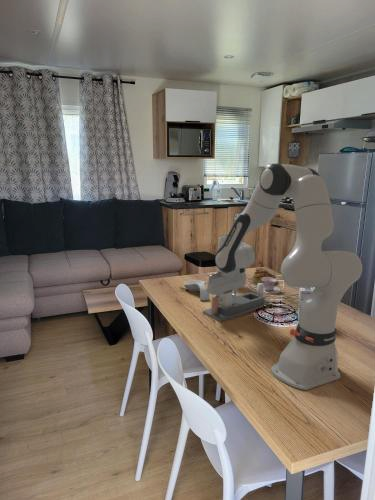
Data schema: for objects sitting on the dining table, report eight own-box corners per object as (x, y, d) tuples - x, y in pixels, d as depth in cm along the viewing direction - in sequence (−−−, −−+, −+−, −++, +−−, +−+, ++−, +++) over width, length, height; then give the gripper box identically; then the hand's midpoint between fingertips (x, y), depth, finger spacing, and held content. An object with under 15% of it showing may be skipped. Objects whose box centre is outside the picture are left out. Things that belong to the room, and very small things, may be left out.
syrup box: (312, 324, 153) (315, 291, 149) (298, 322, 154) (300, 290, 151) (311, 318, 158) (313, 286, 155) (296, 317, 159) (299, 286, 156)
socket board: (220, 321, 156) (220, 301, 153) (202, 312, 165) (202, 294, 163) (272, 304, 175) (273, 286, 172) (253, 297, 184) (254, 280, 182)
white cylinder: (225, 313, 162) (225, 291, 160) (219, 310, 165) (219, 289, 163) (231, 310, 164) (232, 289, 162) (225, 308, 168) (226, 287, 165)
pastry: (259, 277, 217) (260, 264, 215) (281, 283, 206) (281, 269, 204) (245, 281, 209) (245, 268, 207) (266, 288, 198) (267, 274, 196)
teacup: (253, 288, 197) (253, 277, 196) (272, 285, 202) (273, 275, 200) (265, 295, 187) (265, 284, 185) (285, 292, 191) (286, 281, 189)
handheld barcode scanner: (181, 287, 200) (181, 274, 199) (201, 285, 204) (201, 272, 202) (194, 302, 178) (193, 288, 177) (216, 299, 182) (216, 286, 180)
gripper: (213, 276, 152) (213, 307, 156) (248, 267, 164) (247, 296, 167) (204, 272, 157) (204, 302, 161) (238, 264, 169) (238, 293, 172)
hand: (226, 299), depth 164 cm, fingers open, 7 cm apart
